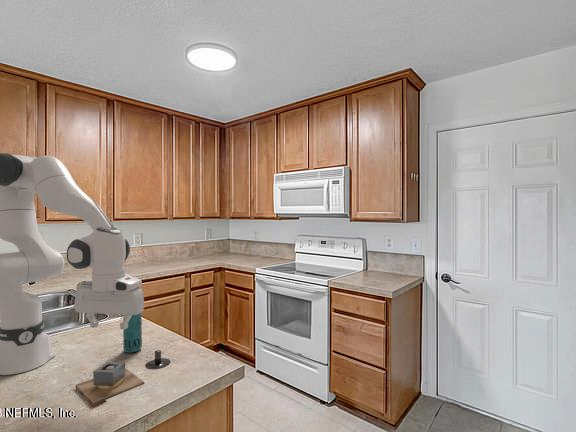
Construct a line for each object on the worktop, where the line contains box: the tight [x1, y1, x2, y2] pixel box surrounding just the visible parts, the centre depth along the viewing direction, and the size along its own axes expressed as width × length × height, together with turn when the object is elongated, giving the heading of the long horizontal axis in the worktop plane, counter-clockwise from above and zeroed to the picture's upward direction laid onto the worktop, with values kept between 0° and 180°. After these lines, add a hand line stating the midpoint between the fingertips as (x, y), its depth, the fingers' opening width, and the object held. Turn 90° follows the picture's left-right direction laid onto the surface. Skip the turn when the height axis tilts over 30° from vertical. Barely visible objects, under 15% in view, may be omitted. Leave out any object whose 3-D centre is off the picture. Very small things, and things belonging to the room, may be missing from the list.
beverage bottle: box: [122, 312, 143, 353], centre depth 121 cm, size 6×7×20 cm
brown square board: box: [75, 366, 145, 408], centre depth 97 cm, size 14×14×6 cm
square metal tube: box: [92, 361, 126, 386], centre depth 97 cm, size 6×6×4 cm
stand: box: [144, 349, 171, 370], centre depth 110 cm, size 8×8×5 cm
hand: (109, 327), depth 97 cm, fingers open, 8 cm apart
